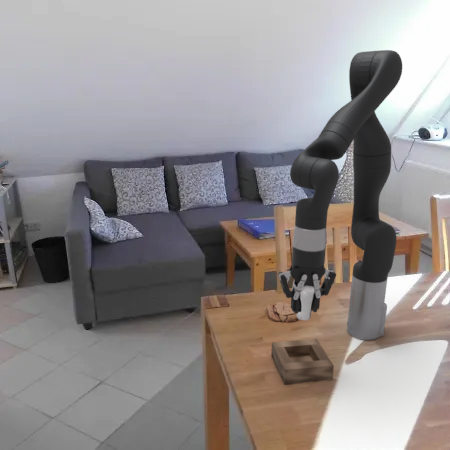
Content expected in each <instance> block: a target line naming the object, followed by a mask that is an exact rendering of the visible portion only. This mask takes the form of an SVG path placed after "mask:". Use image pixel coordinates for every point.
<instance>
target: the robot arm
mask: <svg viewBox="0 0 450 450" xmlns="http://www.w3.org/2000/svg"><path fill="white" fill-rule="evenodd" d="M348 71H349V72H348V73H349V75H348V76H349V77H348V78H349V79H348V80H349V81H348V83H349V90H350V93H349V94H350V101H348V102H347V103H346V104H345V105H343V106H342V107H341V108H340V109H338V110H337V111H335V113H334V114H333V115H331V117H330V118H329V119H328V120H327V123H326V124H325V126H324V127H323V128H322V131H321V132H320V134H319V135H318V137H317V138H316V139H314V140H313V141H312V142H311V143H310V144H308V146H307V147H306V148H304V150H301V152H300V153H299V154H298V155H297V156H296V157H295V159H294V160H293V162H292V164H291V167H290V171H289V173H290V174H289V176H290V180H291V183H293V184H294V185H295V186H297V187H299V188H303V189H309V190H313V191H314V193H313V197H305V198H302V199H300V200H298V201H297V202H296V206H295V217H294V219H295V220H294V222H295V223H294V229H293V234H292V236H293V237H292V251H291V265H290V268H289V269H288V270H287V271H285V272H283V271H279V272H278V274H277V275H278V278H279V282H280V285H281V289H282V292H283V294H284V295H285V297H286V298H287V299H290V305H291V309H292V311H294V313H295V314H296V313H298V309H299V299H298V297H299V295H300V292H301V291H302V289H303V286H305V285H308V286H314V288H315V295H314V300H313V306H312V313H317V312H318V311H319V309H320V301H321V297H323V296H328V295H329V293H330V292H331V288H332V286H333V284H334V281H335V279H336V276H337V274H336V272H335V271H334V270H333V269H332V268H329V269H326V268H325V261H326V250H327V243H328V242H327V241H328V240H327V236H328V235H327V225H328V224H327V223H328V211H329V206H330V204H331V201H332V198H333V195H334V193H335V190H336V188H337V185H338V182H339V178H340V172H339V168H338V165H337V164H336V163H335V161H336V160H340V159H341V158H343V156H345V154H346V152H348V150H349V148H350V146H351V145H352V142H353V145H352V148H353V151H352V153H353V154H352V155H353V156H352V158H353V159H352V163H353V165H352V167H353V205H352V206H353V208H352V216H351V217H352V218H351V227H350V236H351V239H352V242H353V243H354V245H355V246H357V247H358V248H359V249H360V250H362V251H363V255H362V260H360V261H357V262H355V263H354V265H353V266H352V274H351V285H350V293H349V294H350V295H349V305H348V314H347V315H348V316H347V324H346V325H347V326H346V331H347V333H348V334H350V336H353V337H354V338H356V339H360V340H366V341H367V340H368V341H372V340H376V339H378V338H379V337H383V336H384V335H385V334H384V333H385V325H386V317H387V309H388V304H387V303H385V302H386V300H385V299H386V293H387V287H388V286H387V284H388V275H389V273H390V272H391V270H392V268H393V264H394V259H395V258H394V257H395V253H396V249H397V248H396V247H397V232H396V230H395V228H394V227H393V226H392V225H390V224H389V223H387V222H385V221H383V220H381V219H380V213H379V212H380V207H379V204H380V203H379V201H380V198H381V197H380V196H381V193H382V191H383V188H384V187H385V185H386V184H387V181H388V180H389V177H390V174H391V171H392V170H391V169H392V144H391V141H390V138H389V136H388V134H387V132H386V130H385V129H384V127H383V125H382V124H381V121H380V120H379V118H378V116H377V114H376V110H377V109H378V108H379V107H380V106H381V104H382V103H384V101H385V100H386V99H387V97H388V96H389V95H390V94H391V93H392V92H393V91H394V89H395V88H396V87H397V86H398V84H399V82H400V80H401V76H402V75H403V60H402V58H401V56H400V54H399V53H398V52H397V51H395V50H390V49H389V50H388V49H386V50H385V49H384V50H371V51H361V52H357V53H355V55H353V57H352V59H351V61H350V66H349V70H348ZM290 277H292V278H293V282H292V288H291V290H290V286H289V283H288V282H289V281H290ZM323 277H324V279H323V280H322V284H321V286H320V282H319V281H321V279H322V278H323Z"/></svg>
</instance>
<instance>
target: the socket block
mask: <svg viewBox="0 0 450 450" xmlns="http://www.w3.org/2000/svg"><path fill="white" fill-rule="evenodd" d="M270 353H271V359H272V361H273V363H274V365H275V366H276V370H277V371H278V374H279V376H280V378H281V381H282V383H283V385H291V384H300V383H313V382H323V381H333V376H334V370H335V369H334V366H335V365H334V364H333V362H332V360H331V359H330V358H329V355H328V354H327V352H326V351H325V350H324V348H323V346H322V345H321V343H320V341H319V340H318V339H317V338H311V339H299V340H285V341H274V342H273V341H272V342H271V352H270Z"/></svg>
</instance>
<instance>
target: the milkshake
mask: <svg viewBox="0 0 450 450" xmlns="http://www.w3.org/2000/svg"><path fill="white" fill-rule="evenodd" d="M320 281H321V280H319V283H320ZM314 295H315V288H314V286H308V285H305V286H303V289H302V291H301V292H300V295H299V297H298V299H299V309H298V313H297V318H298V319H299V320H301V321H309V320H310V319H311V317H312V313H313V311H312V306H313V300H314Z"/></svg>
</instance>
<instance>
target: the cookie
mask: <svg viewBox="0 0 450 450" xmlns="http://www.w3.org/2000/svg"><path fill="white" fill-rule="evenodd" d="M265 308H266V309H265V313H266V315H267V318H268V319H269V320H270V321H273V322H278V323H279V322H281V323H282V324H283V323H285V324H289V323H295V322H297V321H299V320H300V319H298V318H297V313H296V314H295V313H294V311H292V309H291V304H290V303H287V302H286V301H279V302H278V301H277V302H275V303H273V304H267V305H266V307H265Z"/></svg>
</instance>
